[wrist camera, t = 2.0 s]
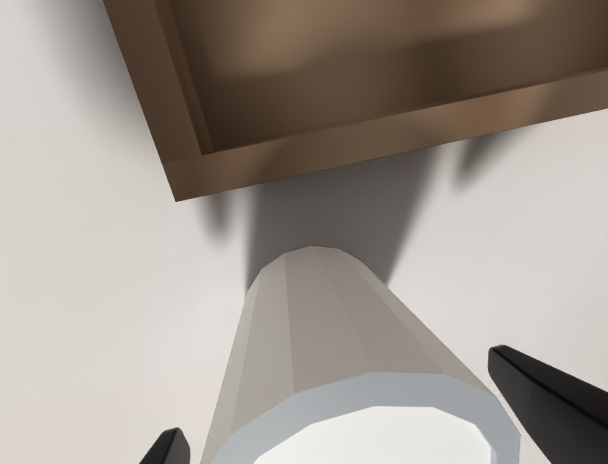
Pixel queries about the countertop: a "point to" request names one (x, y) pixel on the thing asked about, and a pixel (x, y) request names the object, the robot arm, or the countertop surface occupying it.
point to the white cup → (347, 377)
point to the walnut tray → (348, 78)
